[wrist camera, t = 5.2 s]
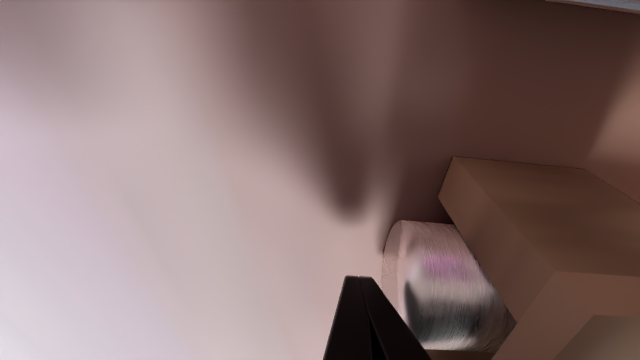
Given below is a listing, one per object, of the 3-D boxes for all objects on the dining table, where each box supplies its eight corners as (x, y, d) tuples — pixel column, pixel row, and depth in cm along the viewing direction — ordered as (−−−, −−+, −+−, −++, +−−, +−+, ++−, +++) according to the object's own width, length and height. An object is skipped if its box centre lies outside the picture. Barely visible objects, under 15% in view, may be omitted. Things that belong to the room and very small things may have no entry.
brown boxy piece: (584, 169, 9) (838, 328, 5) (487, 321, 13) (577, 489, 8) (453, 156, 9) (593, 314, 4) (392, 316, 12) (436, 487, 8)
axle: (647, 225, 10) (800, 290, 7) (607, 305, 12) (724, 393, 8) (394, 202, 10) (438, 263, 7) (375, 290, 11) (406, 380, 8)
